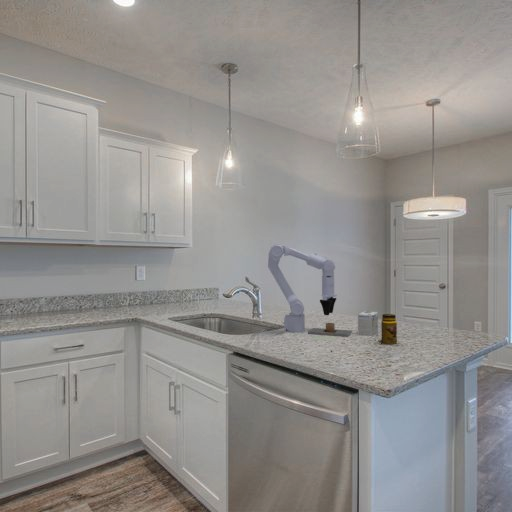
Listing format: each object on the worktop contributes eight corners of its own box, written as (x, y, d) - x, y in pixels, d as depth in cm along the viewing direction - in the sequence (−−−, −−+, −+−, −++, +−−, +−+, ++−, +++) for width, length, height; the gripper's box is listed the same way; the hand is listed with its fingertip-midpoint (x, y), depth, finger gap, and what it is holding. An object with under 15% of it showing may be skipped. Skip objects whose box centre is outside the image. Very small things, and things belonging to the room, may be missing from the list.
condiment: (396, 345, 152) (395, 316, 152) (374, 343, 156) (374, 314, 156) (399, 342, 158) (398, 313, 158) (378, 340, 162) (378, 312, 162)
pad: (310, 342, 158) (310, 339, 159) (314, 339, 165) (314, 336, 165) (333, 344, 154) (333, 341, 154) (337, 341, 161) (337, 337, 161)
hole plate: (307, 337, 170) (307, 331, 170) (313, 333, 179) (313, 327, 179) (348, 340, 162) (348, 334, 163) (351, 335, 172) (351, 330, 172)
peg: (324, 337, 170) (324, 324, 170) (326, 335, 173) (326, 322, 173) (333, 337, 168) (333, 324, 168) (335, 336, 172) (335, 323, 172)
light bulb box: (363, 333, 177) (363, 310, 177) (378, 335, 174) (378, 311, 174) (357, 337, 168) (357, 313, 168) (372, 339, 164) (372, 314, 164)
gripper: (333, 286, 169) (333, 316, 169) (339, 284, 182) (339, 312, 182) (317, 286, 172) (318, 315, 172) (325, 284, 185) (325, 311, 185)
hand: (328, 314), depth 177 cm, fingers open, 7 cm apart
